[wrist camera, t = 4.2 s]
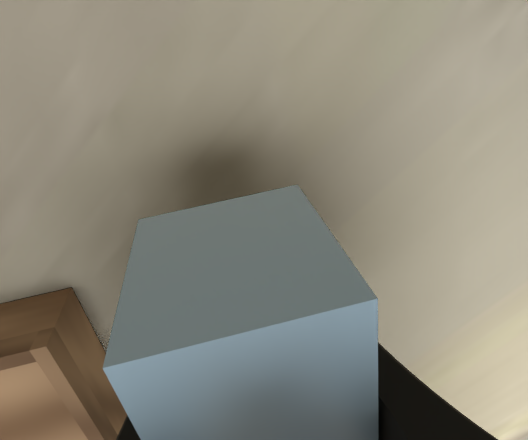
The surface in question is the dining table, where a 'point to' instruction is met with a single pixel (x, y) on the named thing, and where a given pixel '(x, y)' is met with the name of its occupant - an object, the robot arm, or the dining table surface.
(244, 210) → the blue-grey rectangular block
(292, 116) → the dining table surface
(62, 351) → the brown wooden tray
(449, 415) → the robot arm
